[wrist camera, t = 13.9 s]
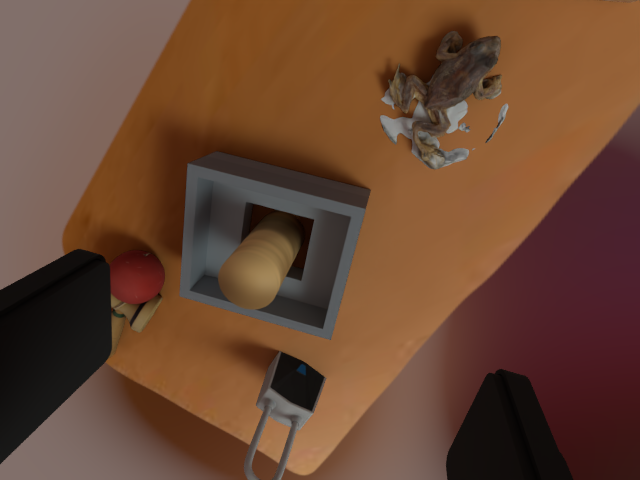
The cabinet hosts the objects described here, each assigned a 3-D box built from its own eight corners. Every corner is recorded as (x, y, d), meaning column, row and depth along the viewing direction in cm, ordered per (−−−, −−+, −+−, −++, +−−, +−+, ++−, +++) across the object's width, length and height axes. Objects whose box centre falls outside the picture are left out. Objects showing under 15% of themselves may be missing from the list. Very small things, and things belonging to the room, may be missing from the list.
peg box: (216, 151, 40) (187, 163, 35) (370, 189, 39) (365, 208, 33) (205, 269, 46) (179, 296, 40) (339, 307, 44) (330, 339, 39)
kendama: (146, 353, 55) (189, 272, 45) (107, 384, 50) (146, 299, 40) (106, 316, 55) (140, 228, 46) (63, 343, 50) (91, 249, 40)
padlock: (266, 370, 50) (216, 480, 36) (281, 348, 48) (233, 456, 35) (311, 396, 50) (278, 516, 37) (328, 375, 48) (299, 493, 35)
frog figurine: (439, -17, 32) (443, -28, 28) (545, 84, 33) (562, 86, 29) (347, 101, 36) (341, 104, 33) (443, 185, 38) (447, 196, 34)
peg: (261, 206, 41) (220, 249, 31) (308, 216, 41) (281, 263, 31) (256, 248, 43) (216, 301, 33) (300, 258, 43) (273, 315, 33)
